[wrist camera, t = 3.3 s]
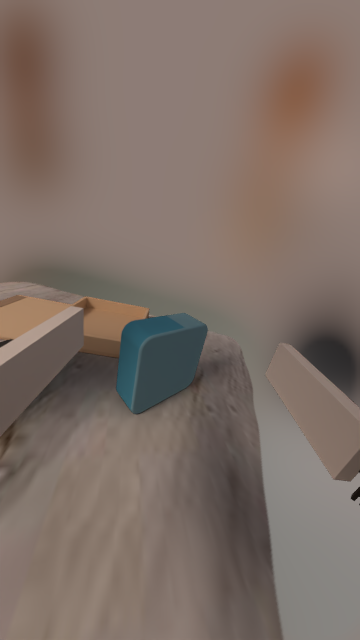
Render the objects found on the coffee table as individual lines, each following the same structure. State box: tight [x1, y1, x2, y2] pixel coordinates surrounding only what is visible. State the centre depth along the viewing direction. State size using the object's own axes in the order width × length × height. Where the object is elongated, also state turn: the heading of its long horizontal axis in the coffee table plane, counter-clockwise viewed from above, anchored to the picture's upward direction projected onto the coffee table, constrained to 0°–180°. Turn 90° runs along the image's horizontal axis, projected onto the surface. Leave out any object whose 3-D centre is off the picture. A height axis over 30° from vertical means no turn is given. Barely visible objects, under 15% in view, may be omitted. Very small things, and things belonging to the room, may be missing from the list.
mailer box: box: [0, 295, 149, 358], centre depth 42 cm, size 34×19×4 cm, turn 89°
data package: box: [116, 313, 208, 414], centre depth 28 cm, size 12×4×12 cm, turn 132°
